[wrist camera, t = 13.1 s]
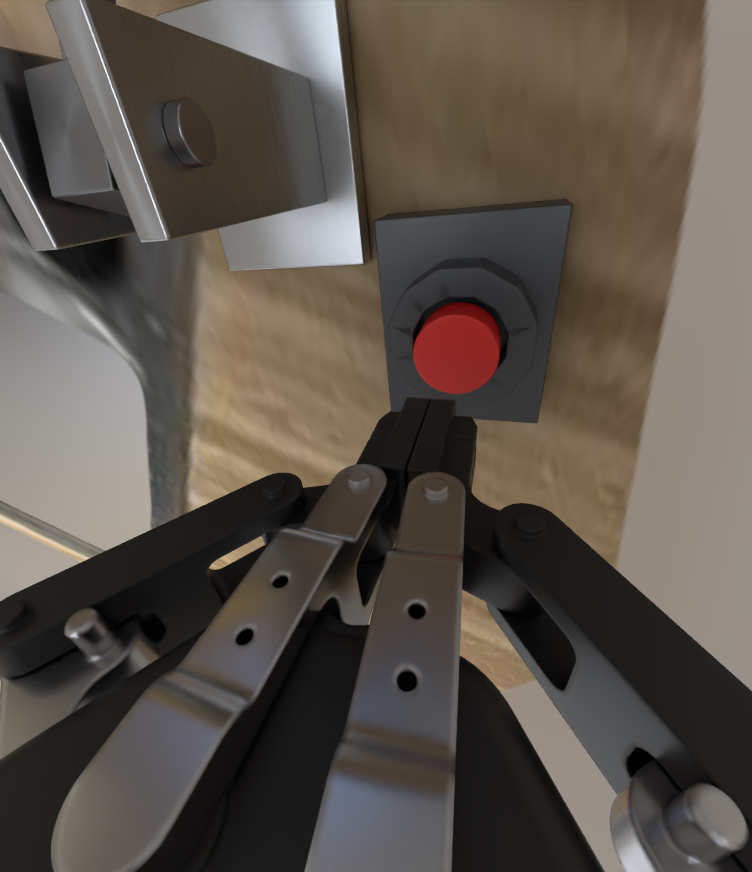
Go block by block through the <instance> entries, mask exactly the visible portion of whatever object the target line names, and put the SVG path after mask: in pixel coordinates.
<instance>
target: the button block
mask: <svg viewBox="0 0 752 872" xmlns="http://www.w3.org/2000/svg"><path fill="white" fill-rule="evenodd" d="M572 206H573V205H572V203H570V202H569V201H568V200H567V199H560V200H549V201H537V202H526V203H514V204H502V205H491V206H479V207H468V208H456V209H445V210H433V211H422V212H410V213H399V214H388V215H385V216H383V217H381V218H379V219H376V220H375V221H374V224H375V235H376V247H377V258H378V269H379V280H380V291H381V303H382V314H383V325H384V336H385V347H386V358H387V370H388V381H389V392H390V403H391V412H401V410H402V408H403V405H404V403H405V401H406V399H407V397H413V398H430V399H431V400H432V398H433V399H451V400H456V416H468V417H472V419H483V420H498V421H512V422H527V423H537V422H538V417H539V411H540V405H541V398H542V392H543V386H544V380H545V374H546V367H547V361H548V355H549V349H550V343H551V336H552V330H553V324H554V318H555V312H556V305H557V299H558V293H559V287H560V281H561V274H562V268H563V262H564V256H565V250H566V243H567V237H568V231H569V225H570V219H571V212H572ZM455 302H467V303H472V304H475V305H477V306H480V307H482V308H483V309H485V310H486V311H487V312H488V313H490V314H491V316H492V317H493V318H494V319H495V321H496V323H497V325H498V327H499V330H500V336H501V345H500V356H499V363H498V366H497V369H496V371H495V373H494V374H493V376H492V377H491V378H490V379H489V381H488V382H486V383H485V384H484V385H483V386H481V387H480V388H478V389H476V390H474V391H471V392H467V393H462V394H451V393H445V392H442V391H439V390H437V389H435V388H433V387H432V386H430V385H429V384H428V383H426V382H425V381H424V379H423V378H422V377H421V376H420V374H419V373H418V371H417V369H416V366H415V363H414V357H413V349H414V344H415V341H416V338H417V336H418V334H419V332H420V331H421V329H422V327H423V325H424V323H425V322H426V320H427V319H428V317H429V316H430V315H431V314H432V313H433V312H434V311H436V310H437V309H439V308H440V307H442V306H444V305H447V304H450V303H455Z"/></svg>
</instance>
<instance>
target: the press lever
mask: <svg viewBox="0 0 752 872" xmlns="http://www.w3.org/2000/svg"><path fill="white" fill-rule="evenodd" d="M105 1H108V2H110V3H113V4H116V0H105ZM116 5H117V4H116ZM59 42H60V40H59ZM60 47H61V52H62V57H63V60H60V61H56V62H53V63H49V64H45V65H42V66H38V67H35V68H31V69H27V70H24V77H25V82H26V86H27V90H28V95H29V99H30V103H31V108H32V112H33V116H34V120H35V125H36V129H37V133H38V138H39V142H40V146H41V151H42V155H43V159H44V164H45V168H46V172H47V177H48V181H49V185H50V190H51V194H52V196H53V197H54V198H56V199H60V200H64V201H68V202H72V203H76V204H80V205H84V206H88V207H92V208H96V209H100V210H104V211H108V212H112V213H116V214H120V215H124V216H127V217H130V216H129V213H128V211H127V208H126V206H125V203H124V201H123V198H122V196H121V193H120V191H119V188H118V186H117V183H116V180H115V178H114V175H113V173H112V170H111V168H110V165H109V163H108V160H107V158H106V155H105V153H104V150H103V148H102V145H101V143H100V140H99V138H98V135H97V133H96V130H95V128H94V125H93V123H92V120H91V118H90V115H89V113H88V110H87V108H86V105H85V103H84V100H83V98H82V95H81V93H80V90H79V88H78V85H77V83H76V80H75V78H74V75H73V73H72V70H71V68H70V65H69V63H68V60H67V58H66V55H65V53H64V50H63V48H62V45H61V43H60Z"/></svg>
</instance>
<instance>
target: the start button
mask: <svg viewBox="0 0 752 872" xmlns="http://www.w3.org/2000/svg"><path fill="white" fill-rule="evenodd" d="M500 345H501V336H500V330H499V327H498V325H497V323H496V321H495V319H494V318H493V317H492V316H491V314H490V313H488V312H487V311H486V310H485V309H483V308H482V307H480V306H477V305H475V304H472V303H467V302H455V303H450V304H447V305H444V306H442V307H440V308H439V309H437V310H436V311H434V312H433V313H432V314H431V315H430V316H429V317H428V319H427V320H426V322H425V323H424V325H423V327H422V329H421V331H420V332H419V334H418V336H417V338H416V341H415V344H414V349H413V357H414V363H415V366H416V369H417V371H418V373H419V374H420V376H421V377H422V378H423V379H424V381H425V382H426V383H428V384H429V385H430V386H432V387H433V388H435V389H437V390H439V391H442V392H445V393H451V394H462V393H467V392H471V391H474V390H476V389H478V388H480V387H481V386H483V385H484V384H485V383H486V382H488V381H489V379H490V378H491V377H492V376H493V374H494V373H495V371H496V369H497V366H498V363H499V356H500Z"/></svg>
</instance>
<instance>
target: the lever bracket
mask: <svg viewBox="0 0 752 872" xmlns="http://www.w3.org/2000/svg"><path fill="white" fill-rule="evenodd" d="M46 8H47V10H48V13H49V15H50V18H51V20H52V23H53V25H54V28H55V30H56V33H57V35H58V38H59V40H60V43H61V45H62V48H63V50H64V53H65V55H66V58H67V60H68V63H69V65H70V68H71V70H72V73H73V75H74V78H75V80H76V83H77V85H78V88H79V90H80V93H81V95H82V98H83V100H84V103H85V105H86V108H87V110H88V113H89V115H90V118H91V120H92V123H93V125H94V128H95V130H96V133H97V135H98V138H99V140H100V143H101V145H102V148H103V150H104V153H105V155H106V158H107V160H108V163H109V165H110V168H111V170H112V173H113V175H114V178H115V180H116V183H117V186H118V188H119V191H120V193H121V196H122V198H123V201H124V203H125V206H126V208H127V211H128V213H129V216H130V217H127V216H124V215H120V214H116V213H112V212H108V211H104V210H100V209H96V208H92V207H88V206H84V205H80V204H76V203H72V202H68V201H64V200H60V199H56V198H54V197H53V196H52V194H51V190H50V185H49V181H48V177H47V172H46V168H45V164H44V159H43V155H42V151H41V146H40V142H39V138H38V133H37V129H36V125H35V120H34V116H33V112H32V108H31V103H30V99H29V95H28V90H27V86H26V82H25V77H24V70H27V69H31V68H35V67H38V66H42V65H45V64H49V63H53V62H56V61H60V60H62V59H58V58H53V57H48V56H44V55H39V54H34V53H29V52H25V51H20V50H15V49H11V48H6V47H1V46H0V188H1V190H2V192H3V194H4V196H5V198H6V199H7V201H8V203H9V205H10V207H11V209H12V211H13V212H14V214H15V216H16V218H17V220H18V222H19V223H20V225H21V227H22V229H23V231H24V233H25V234H26V236H27V238H28V240H29V242H30V244H31V245H32V247H33V249H34V250H36V251H45V250H57V249H63V248H68V247H73V246H78V245H82V244H87V243H92V242H97V241H102V240H107V239H112V238H117V237H122V236H127V235H132V234H137V236H138V238H139V240H140V241H141V242H144V243H145V242H157V241H169V240H173V239H177V238H182V237H186V236H190V235H194V234H198V233H202V232H206V231H210V230H215V229H218V232H219V236H220V239H221V242H222V246H223V249H224V253H225V256H226V260H227V263H228V266H229V270H230V271H240V270H260V269H281V268H301V267H322V266H342V265H363V264H365V263H366V262H368V261H369V260H371V254H370V244H369V234H368V223H367V213H366V203H365V193H364V183H363V173H362V162H361V152H360V142H359V132H358V122H357V112H356V101H355V91H354V81H353V71H352V61H351V50H350V40H349V30H348V20H347V10H346V0H206V1H202V2H199V3H195V4H192V5H189V6H185V7H182V8H178V9H175V10H172V11H168V12H165V13H162V14H158V15H156V20H155V19H153V18H150V17H147V16H145V15H142V14H139V13H137V12H134V11H131V10H129V9H126V8H123V7H121V6H118V5H116V4H113V3H110V2H108V1H105V0H50V1H48V2H46Z"/></svg>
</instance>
